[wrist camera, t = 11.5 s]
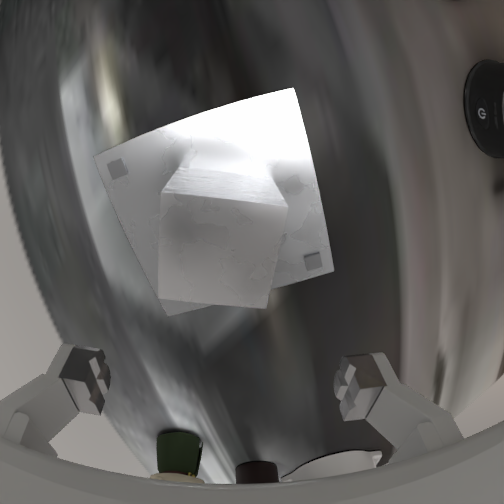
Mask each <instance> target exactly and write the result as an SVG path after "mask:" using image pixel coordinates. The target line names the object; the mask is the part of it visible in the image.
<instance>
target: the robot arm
mask: <svg viewBox="0 0 504 504" xmlns="http://www.w3.org/2000/svg"><path fill="white" fill-rule="evenodd" d="M104 360H105V355H104V352H103V350H101V349H96V348H90V347H84V346H79V345H72V344H67V343H64V344H62V345H61V347H60V348H59V350H58V352H57V354H56V355H55V357H54V359H53V361H52V363H51V365H50V367H49V369H48V371H47V372H46V374H45V375H44V374H41V375H40V376H38V377H37V378H35V379H33V380H32V381H30V382H29V383H27V384H26V385H24V386H23V387H21V388H19V389H18V390H16V391H15V392H13V393H11V394H10V395H8V396H7V397H5V398H4V399H2V400H1V401H0V504H504V421H502V422H500V423H498V424H496V425H494V426H492V427H490V428H487V429H485V430H483V431H481V432H479V433H476V434H474V435H472V436H470V437H467V438H465V439H464V438H463V436H462V434H461V432H460V431H459V429H458V427H457V425H456V423H455V421H454V419H453V417H452V415H451V414H450V413H449V412H447V411H446V410H444V409H442V408H441V407H439V406H438V405H436V404H435V403H433V402H432V401H430V400H428V399H427V398H425V397H424V396H422V395H421V394H419V393H418V392H416V391H415V390H413V389H412V388H410V387H409V386H407V385H405V384H400V382H399V380H398V378H397V376H396V374H395V372H394V371H393V369H392V367H391V365H390V363H389V361H388V359H387V358H386V356H385V354H384V353H382V352H380V353H370V354H360V355H349V356H343V357H342V358H341V361H340V367H341V369H340V370H339V371H337V372H336V375H335V378H334V391H335V395H336V397H337V398H338V399H339V400H341V401H342V402H341V404H340V406H339V407H340V410H341V413H342V417H343V420H344V421H350V420H358V419H366V420H367V421H368V422H369V423H370V424H371V425H372V426H373V427H374V428H375V429H376V430H377V431H378V432H379V433H380V434H382V435H383V436H384V437H385V438H386V439H387V440H388V441H389V442H390V443H391V444H392V445H393V446H395V447H396V448H397V449H398V450H397V451H396V452H395V453H394V455H393V456H392V457H391V458H390V459H389V464H388V465H384V466H380V467H376V465H377V463H378V462H379V460H380V459H381V457H382V452H381V451H373V452H366V451H348V452H342V453H337V454H333V455H329V456H326V457H323V458H320V459H317V460H314V461H312V462H309V463H307V464H305V465H303V466H301V467H300V468H298V469H297V470H295V471H294V472H293V473H292V474H289V475H287V476H285V477H283V478H281V481H282V482H278V483H261V484H207V483H189V482H177V481H167V480H159V479H151V478H143V477H136V476H131V475H126V474H120V473H115V472H110V471H105V470H101V469H96V468H92V467H88V466H84V465H80V464H77V463H73V462H69V461H66V460H63V459H59V458H57V453H56V451H55V450H54V449H53V447H52V446H51V445H50V444H49V443H48V442H49V441H50V440H51V439H52V438H53V437H54V436H55V435H56V434H58V433H59V432H60V431H61V430H62V429H63V428H64V427H65V426H66V425H67V424H68V423H69V422H70V421H71V420H72V419H73V418H75V417H76V416H77V415H78V414H79V412H83V413H89V414H94V415H101V412H102V409H103V406H104V403H105V400H104V397H103V395H104V394H105V393H106V392H108V390H109V387H110V379H111V376H110V370H109V367H108V365H107V364H105V363H104Z"/></svg>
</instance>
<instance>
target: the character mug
mask: <svg viewBox="0 0 504 504" xmlns="http://www.w3.org/2000/svg"><path fill="white" fill-rule="evenodd" d="M199 442H200V438H199V437H196V436H194V435H192V434H189V433H184V432H175V433H167V434H162V435H160V436H158V437H157V465H158V471H159V473H156V474H153V475H151V476H150V478H151V479H159V480H167V481H177V482H189V483H205V482H204V481H203V480H201V479H198V478H196V476H197V475H198V469H199V465H200V460H201V455H202V447H203V442H202V447H200V448H199Z"/></svg>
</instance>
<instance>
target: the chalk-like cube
mask: <svg viewBox="0 0 504 504" xmlns="http://www.w3.org/2000/svg"><path fill="white" fill-rule="evenodd" d="M287 212H288V205H287V203H286V201H285V200H284V198H283V196H282V194H281V192H280V191H279V189H278V187H277V185H276V184H275V182H274V180H273V178H266V177H259V176H252V175H244V174H237V173H229V172H220V171H211V170H202V169H192V168H182V167H179V168H178V169H177V170H176V172H175V173H174V175H173V176H172V177H171V179H170V180H169V182H168V183H167V184H166V186H165V187H164V189H163V190H162V191H161V201H160V222H159V257H158V298H160V299H168V300H177V301H186V302H195V303H205V304H215V305H226V306H237V307H249V308H262V309H266V307H267V303H268V299H269V294H270V290H271V285H272V281H273V276H274V272H275V267H276V263H277V258H278V254H279V249H280V245H281V240H282V235H283V231H284V226H285V221H286V217H287Z"/></svg>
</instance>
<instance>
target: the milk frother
mask: <svg viewBox="0 0 504 504" xmlns="http://www.w3.org/2000/svg"><path fill="white" fill-rule="evenodd" d="M465 111H466V117H467V122H468V125H469V128H470V131H471V133H472V136H473V138H474V140H475V142H476V143H477V145H478V146H479V147H480V148H481V150H482V151H483V152H485V153H486V154H487V155H489V156H491V157H494V158H504V63H499V62H497V61H494V60H484V61H481V62H479V63H478V64H477V65H475V67H474V68H473V69H472V71H471V72H470V74H469V77H468V79H467V83H466V88H465Z"/></svg>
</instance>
